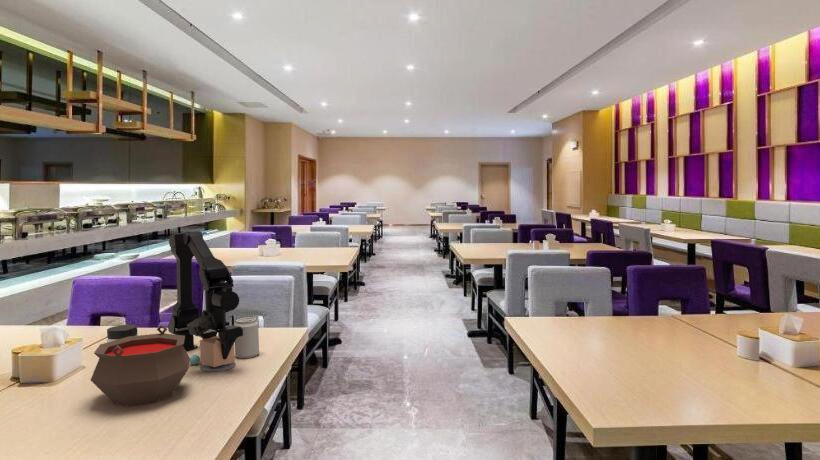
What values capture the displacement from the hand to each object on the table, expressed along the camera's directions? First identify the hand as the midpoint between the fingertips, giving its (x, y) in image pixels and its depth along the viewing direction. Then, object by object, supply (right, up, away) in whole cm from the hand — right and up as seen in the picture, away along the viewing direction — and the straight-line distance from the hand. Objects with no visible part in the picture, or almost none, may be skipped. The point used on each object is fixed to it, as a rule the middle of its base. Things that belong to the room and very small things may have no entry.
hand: (217, 357), depth 161 cm
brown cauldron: (-11, -5, -23) cm, 26 cm away
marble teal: (-8, -3, +3) cm, 9 cm away
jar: (-30, -4, +2) cm, 30 cm away
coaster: (0, -3, 0) cm, 3 cm away
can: (+6, -2, +11) cm, 13 cm away
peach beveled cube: (0, -2, 0) cm, 2 cm away
